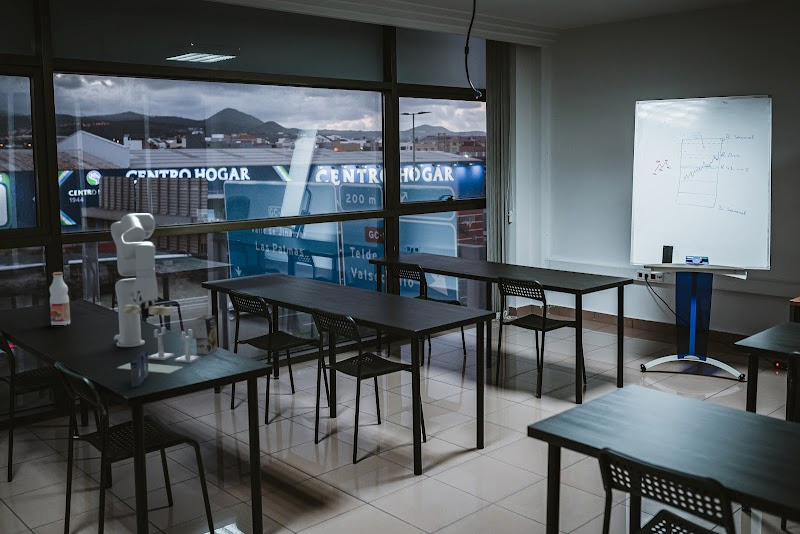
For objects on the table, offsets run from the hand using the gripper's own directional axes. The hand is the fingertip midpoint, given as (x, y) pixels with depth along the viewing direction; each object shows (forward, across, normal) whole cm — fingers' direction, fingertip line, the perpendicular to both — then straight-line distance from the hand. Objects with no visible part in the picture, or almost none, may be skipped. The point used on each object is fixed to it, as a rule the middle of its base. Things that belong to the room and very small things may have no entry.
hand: (148, 316), depth 334 cm
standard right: (+22, -17, +7) cm, 29 cm away
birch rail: (-1, 0, 0) cm, 1 cm away
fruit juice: (+21, -60, -102) cm, 120 cm away
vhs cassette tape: (+23, +17, +8) cm, 30 cm away
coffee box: (+22, -33, +6) cm, 41 cm away
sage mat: (+22, 0, 0) cm, 22 cm away
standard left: (+22, -17, -7) cm, 29 cm away
